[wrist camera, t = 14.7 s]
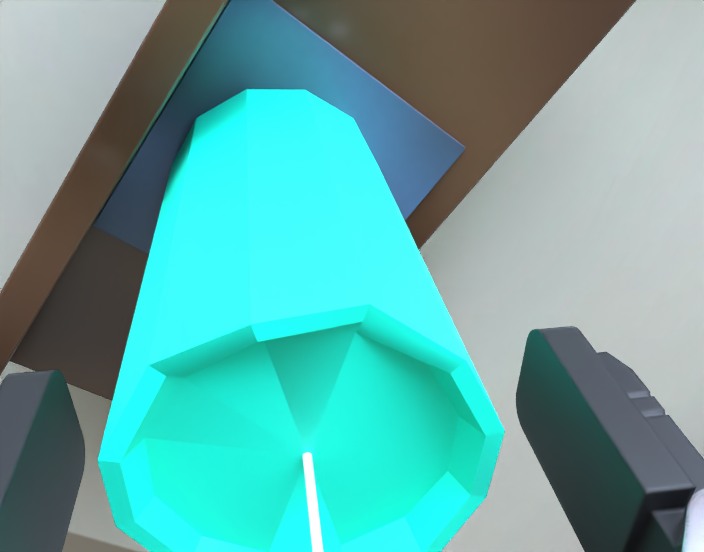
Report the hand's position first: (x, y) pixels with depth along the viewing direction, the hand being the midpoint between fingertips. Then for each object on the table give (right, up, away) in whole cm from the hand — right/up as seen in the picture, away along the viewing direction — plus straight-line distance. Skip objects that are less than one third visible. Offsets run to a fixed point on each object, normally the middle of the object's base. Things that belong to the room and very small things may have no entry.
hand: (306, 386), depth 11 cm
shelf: (-2, +8, +13) cm, 16 cm away
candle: (-1, +4, +7) cm, 9 cm away
